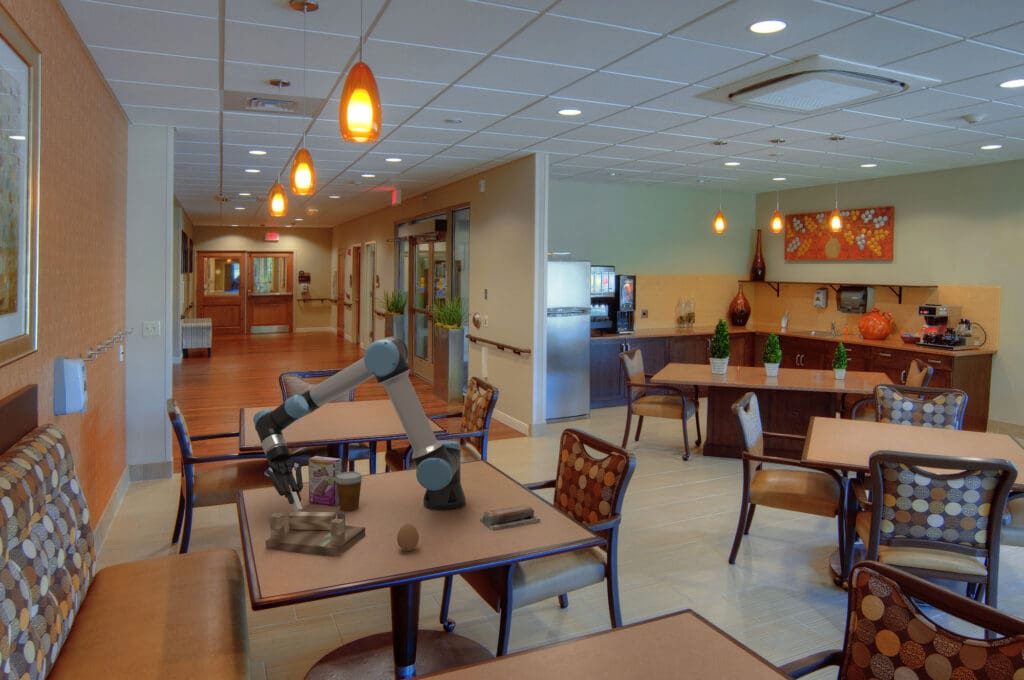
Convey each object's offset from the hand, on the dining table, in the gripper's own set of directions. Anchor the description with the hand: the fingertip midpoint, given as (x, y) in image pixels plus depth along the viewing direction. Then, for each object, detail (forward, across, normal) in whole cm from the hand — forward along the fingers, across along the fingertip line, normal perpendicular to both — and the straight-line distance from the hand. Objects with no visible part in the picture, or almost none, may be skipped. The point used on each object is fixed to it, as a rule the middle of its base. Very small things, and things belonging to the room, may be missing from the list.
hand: (299, 511), depth 230 cm
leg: (+8, 0, +4) cm, 9 cm away
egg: (+31, -17, +22) cm, 42 cm away
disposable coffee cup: (-1, -22, -10) cm, 24 cm away
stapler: (+33, -57, +23) cm, 69 cm away
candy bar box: (-9, -19, -18) cm, 27 cm away
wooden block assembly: (+14, +1, +5) cm, 15 cm away
